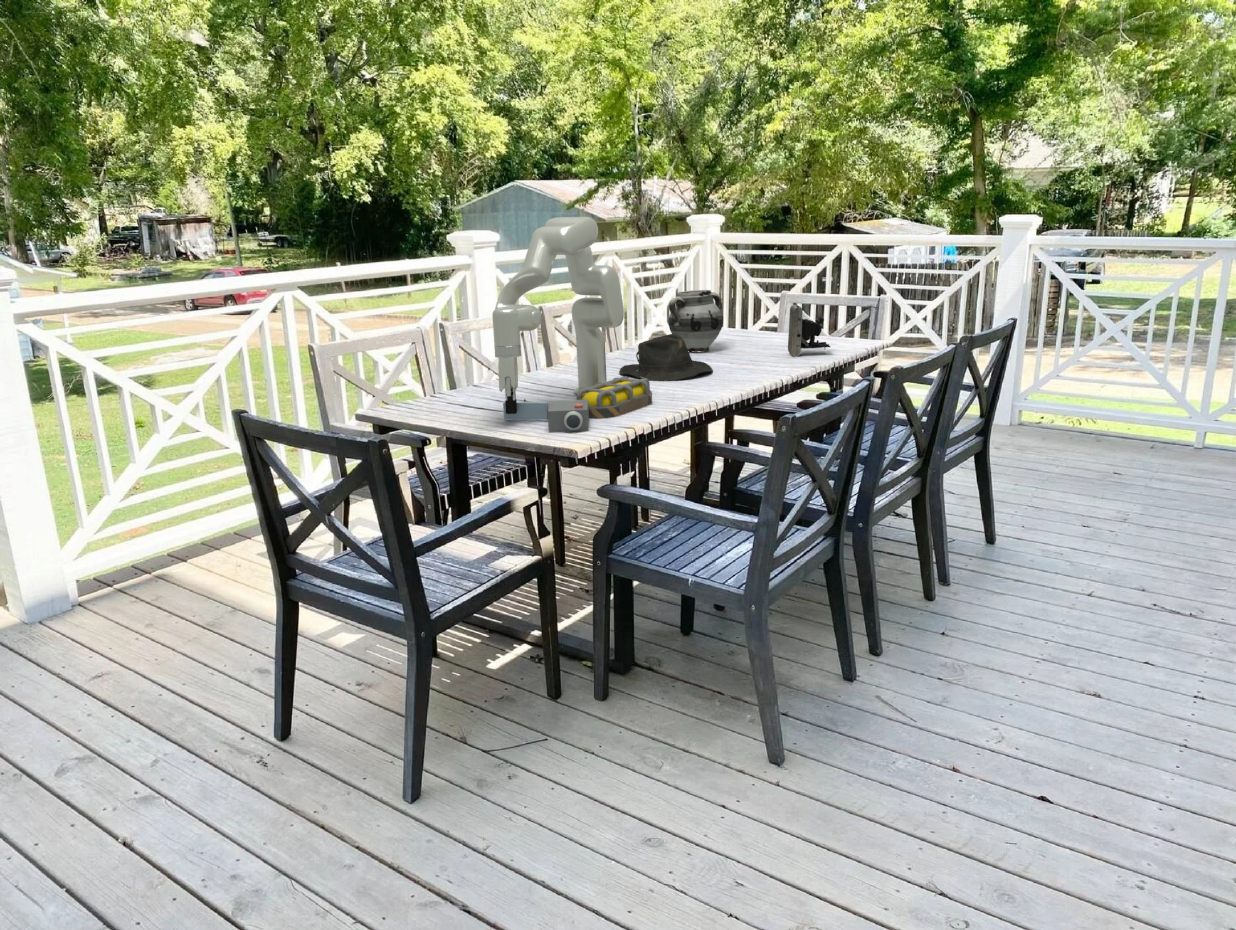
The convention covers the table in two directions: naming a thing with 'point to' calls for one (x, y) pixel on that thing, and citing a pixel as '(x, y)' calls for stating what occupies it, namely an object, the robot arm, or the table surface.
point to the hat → (664, 360)
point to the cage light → (616, 397)
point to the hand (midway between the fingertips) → (511, 413)
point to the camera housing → (568, 415)
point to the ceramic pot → (696, 318)
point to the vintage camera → (803, 332)
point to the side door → (529, 411)
